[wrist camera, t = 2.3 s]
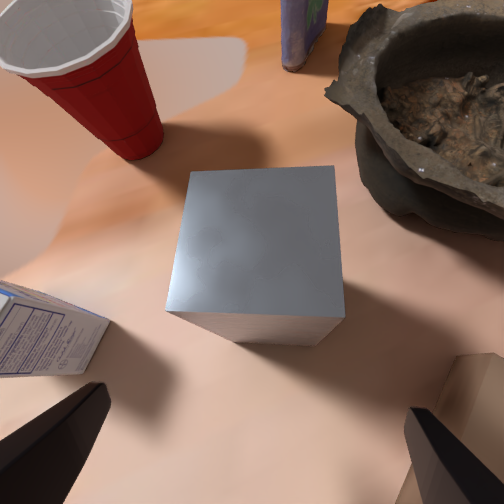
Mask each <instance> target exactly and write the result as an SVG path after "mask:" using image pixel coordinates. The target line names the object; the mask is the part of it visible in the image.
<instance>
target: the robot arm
mask: <svg viewBox="0 0 504 504" xmlns="http://www.w3.org/2000/svg"><path fill="white" fill-rule="evenodd" d="M110 407H111V398H110V395H109V392H108V389H107V386H106V384H105V383H104V382H97V381H92V382H89V383H88V384H86V385H85V386H83V387H82V388H80V389H79V390H77V391H75V392H74V393H72V394H71V395H69V396H68V397H66V398H65V399H63V400H62V401H60V402H59V403H57V404H56V405H54V406H53V407H51V408H50V409H48V410H47V411H45V412H43V413H42V414H40V415H39V416H37V417H36V418H34V419H33V420H31V421H30V422H28V423H27V424H25V425H24V426H22V427H21V428H19V429H18V430H16V431H14V432H13V433H11V434H10V435H8V436H7V437H5V438H4V439H2V440H1V441H0V504H63V502H64V501H65V499H66V497H67V495H68V493H69V492H70V490H71V488H72V486H73V484H74V483H75V481H76V479H77V477H78V475H79V473H80V472H81V470H82V468H83V466H84V464H85V462H86V460H87V458H88V456H89V454H90V452H91V449H92V447H93V445H94V443H95V441H96V438H97V436H98V434H99V432H100V430H101V427H102V425H103V423H104V421H105V419H106V416H107V414H108V412H109V410H110ZM404 434H405V439H406V442H407V446H408V450H409V454H410V458H411V461H412V465H413V469H414V473H415V476H416V480H417V484H418V488H419V492H420V495H421V499H422V502H423V504H504V483H503V482H502V481H501V480H500V479H499V478H498V477H497V476H496V475H495V474H494V473H493V472H492V471H491V470H490V469H489V468H488V467H486V466H485V465H484V464H483V463H482V462H481V461H480V460H479V459H478V458H477V457H476V456H475V455H474V454H473V453H472V452H471V451H470V450H469V449H468V448H467V447H466V446H465V445H464V444H463V443H462V442H461V441H460V440H459V439H458V438H457V437H456V436H455V435H454V434H453V433H452V432H451V431H450V430H449V429H448V428H447V427H446V426H445V425H444V424H443V423H442V422H441V421H440V420H439V419H438V418H437V417H436V416H435V415H434V414H433V413H432V412H430V411H429V410H428V409H427V408H424V407H414V406H411V407H409V408H408V412H407V416H406V420H405V425H404Z"/></svg>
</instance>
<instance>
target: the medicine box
mask: <svg viewBox="0 0 504 504" xmlns="http://www.w3.org/2000/svg"><path fill="white" fill-rule="evenodd" d="M109 322H110V320H109V319H107V318H104V317H102V316H99V315H97V314H94V313H92V312H90V311H87V310H85V309H82V308H80V307H77V306H75V305H72V304H70V303H67V302H65V301H62V300H60V299H57V298H55V297H52V296H50V295H47V294H45V293H42V292H39V291H36V290H32V289H29V288H26V287H23V286H19V285H16V284H12V283H9V282H5V281H2V280H0V378H8V377H28V376H54V375H74V374H83V373H84V371H85V369H86V367H87V365H88V363H89V361H90V359H91V357H92V355H93V353H94V351H95V350H96V348H97V346H98V344H99V342H100V340H101V338H102V336H103V334H104V332H105V330H106V328H107V326H108V324H109Z"/></svg>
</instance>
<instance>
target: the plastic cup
mask: <svg viewBox="0 0 504 504" xmlns="http://www.w3.org/2000/svg"><path fill="white" fill-rule="evenodd" d="M132 13H133V4H132V0H14V1H12V2H11V3H10V4H9V5H8V6H7V8H6V9H5V10H4V11H3V12H2V13H1V14H0V66H1V67H2V68H3V69H5V70H6V71H8V72H9V73H13V74H16V75H18V76H20V77H22V78H23V79H26V80H27V81H28V82H29V83H30V84H32V85H33V86H36V87H37V88H38V89H39V90H40V91H42V92H43V93H44V94H45V95H46V96H49V97H50V98H51V99H53V100H54V101H55V102H56V103H57V104H58V105H60V106H61V107H62V108H63V109H64V110H65V111H66V112H68V113H69V114H70V115H71V116H72V117H73V118H75V119H76V120H77V121H78V122H79V123H80V124H81V125H83V126H84V127H85V128H86V129H87V130H89V131H90V132H91V133H92V134H93V135H95V137H97V138H98V139H100V140H101V141H102V142H104V143H105V144H106V145H107V146H108V147H109V148H110V149H111V150H113V151H114V152H115V153H116V154H117V155H119V156H121V157H122V158H124V159H128V160H137V159H142V158H144V157H147V156H149V155H151V154H152V153H153V152H154V151H156V150H157V149H158V148H159V146H160V144H161V143H162V141H163V135H164V133H163V127H162V124H161V121H160V118H159V115H158V112H157V109H156V104H155V100H154V97H153V94H152V91H151V88H150V85H149V81H148V78H147V75H146V72H145V69H144V65H143V62H142V60H141V56H140V53H139V50H138V43H137V40H136V37H135V30H134V26H133V19H132Z"/></svg>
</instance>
